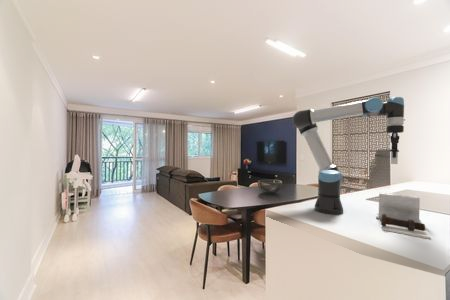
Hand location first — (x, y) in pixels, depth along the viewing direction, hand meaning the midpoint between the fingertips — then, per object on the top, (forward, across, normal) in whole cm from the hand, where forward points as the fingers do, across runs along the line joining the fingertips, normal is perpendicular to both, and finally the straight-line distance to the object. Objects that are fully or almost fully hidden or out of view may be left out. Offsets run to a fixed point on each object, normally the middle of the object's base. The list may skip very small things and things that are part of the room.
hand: (394, 163), depth 122 cm
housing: (+29, -10, -2) cm, 31 cm away
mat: (+29, -28, -4) cm, 40 cm away
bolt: (+28, -28, -4) cm, 40 cm away
